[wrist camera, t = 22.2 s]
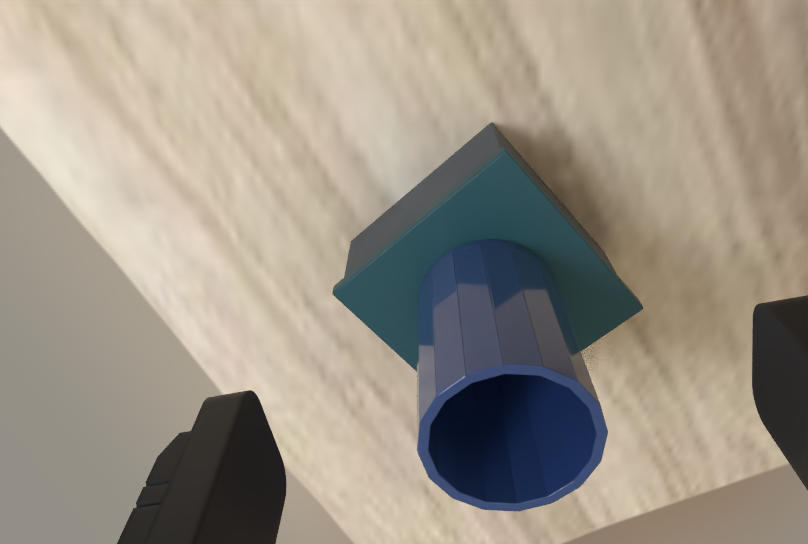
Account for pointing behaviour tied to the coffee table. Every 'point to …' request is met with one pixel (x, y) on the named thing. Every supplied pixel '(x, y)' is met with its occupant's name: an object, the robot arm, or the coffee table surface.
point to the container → (470, 221)
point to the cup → (502, 382)
